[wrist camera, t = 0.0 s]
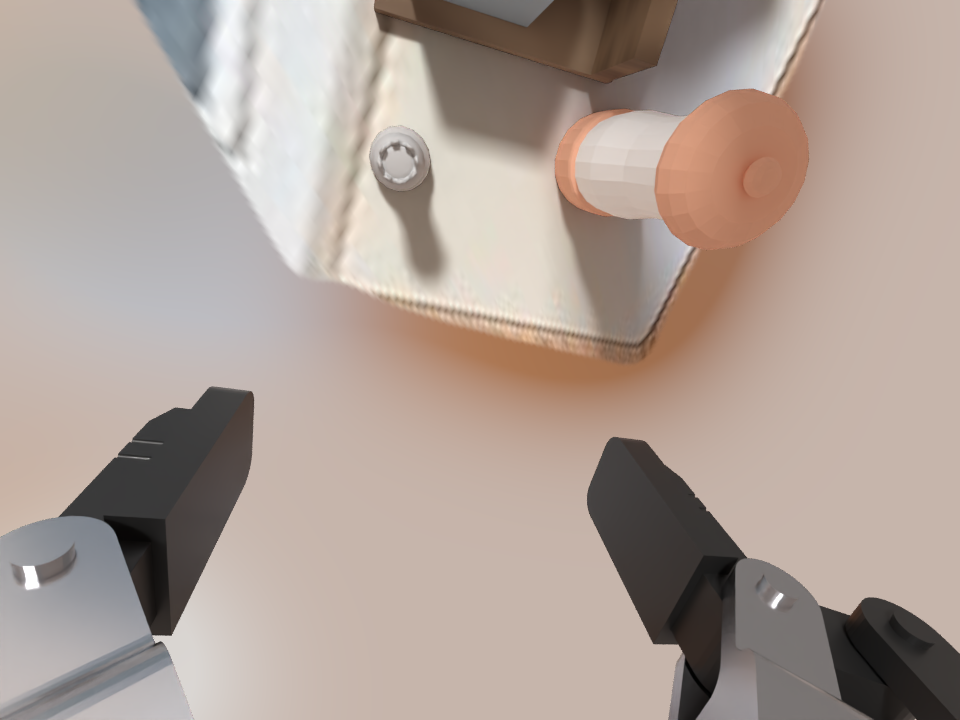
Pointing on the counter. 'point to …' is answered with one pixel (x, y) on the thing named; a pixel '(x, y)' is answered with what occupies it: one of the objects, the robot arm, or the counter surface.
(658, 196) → the pepper shaker
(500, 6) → the socket block
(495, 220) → the counter surface
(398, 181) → the rook chess piece
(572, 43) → the board
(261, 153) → the counter surface
